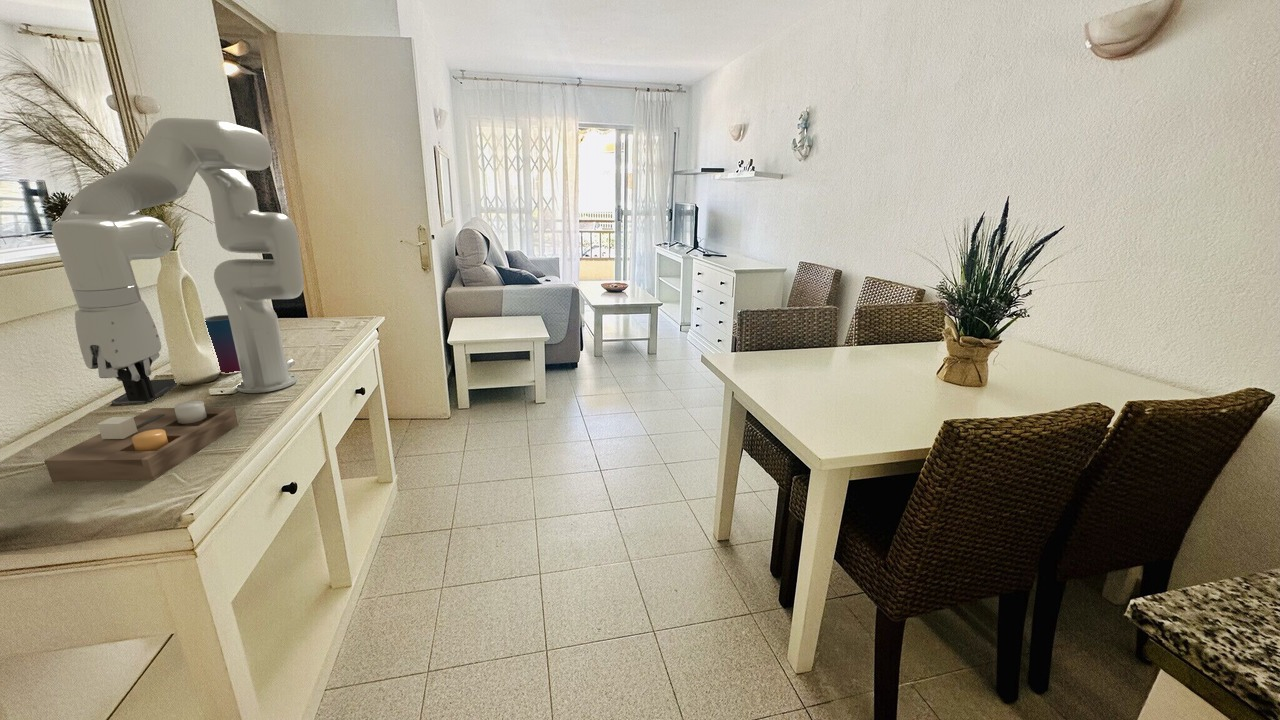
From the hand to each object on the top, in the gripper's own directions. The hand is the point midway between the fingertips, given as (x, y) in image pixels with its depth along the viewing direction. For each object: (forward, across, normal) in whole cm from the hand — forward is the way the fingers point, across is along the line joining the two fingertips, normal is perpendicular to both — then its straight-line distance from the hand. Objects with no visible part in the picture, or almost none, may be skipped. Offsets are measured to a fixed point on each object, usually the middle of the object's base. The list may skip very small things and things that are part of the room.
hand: (142, 399), depth 91 cm
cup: (+14, -49, -19) cm, 54 cm away
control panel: (+12, -4, -4) cm, 14 cm away
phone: (+14, -34, -28) cm, 46 cm away
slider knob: (+8, -2, -7) cm, 11 cm away
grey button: (+8, -9, 0) cm, 12 cm away
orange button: (+10, +1, 0) cm, 10 cm away
